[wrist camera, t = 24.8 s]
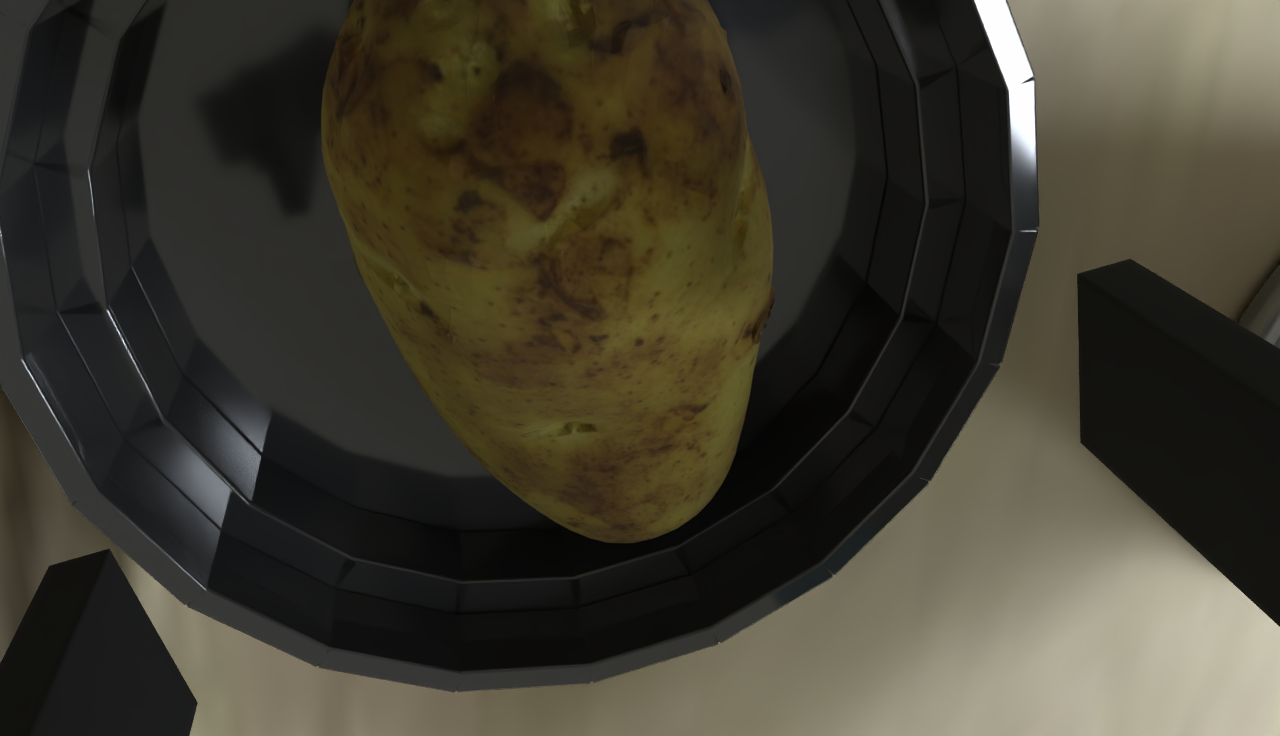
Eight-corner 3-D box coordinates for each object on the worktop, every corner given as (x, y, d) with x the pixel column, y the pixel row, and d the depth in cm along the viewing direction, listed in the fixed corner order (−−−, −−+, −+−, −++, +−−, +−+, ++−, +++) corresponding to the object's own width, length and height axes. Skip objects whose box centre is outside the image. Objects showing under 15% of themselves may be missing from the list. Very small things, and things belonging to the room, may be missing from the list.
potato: (340, 469, 25) (318, 722, 18) (333, -137, 19) (295, -109, 12) (684, 466, 27) (784, 694, 20) (767, -88, 21) (947, -40, 14)
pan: (896, -409, 20) (1020, -464, 16) (962, 444, 29) (1049, 544, 25) (-163, -157, 18) (-318, -148, 14) (262, 654, 28) (240, 793, 24)
